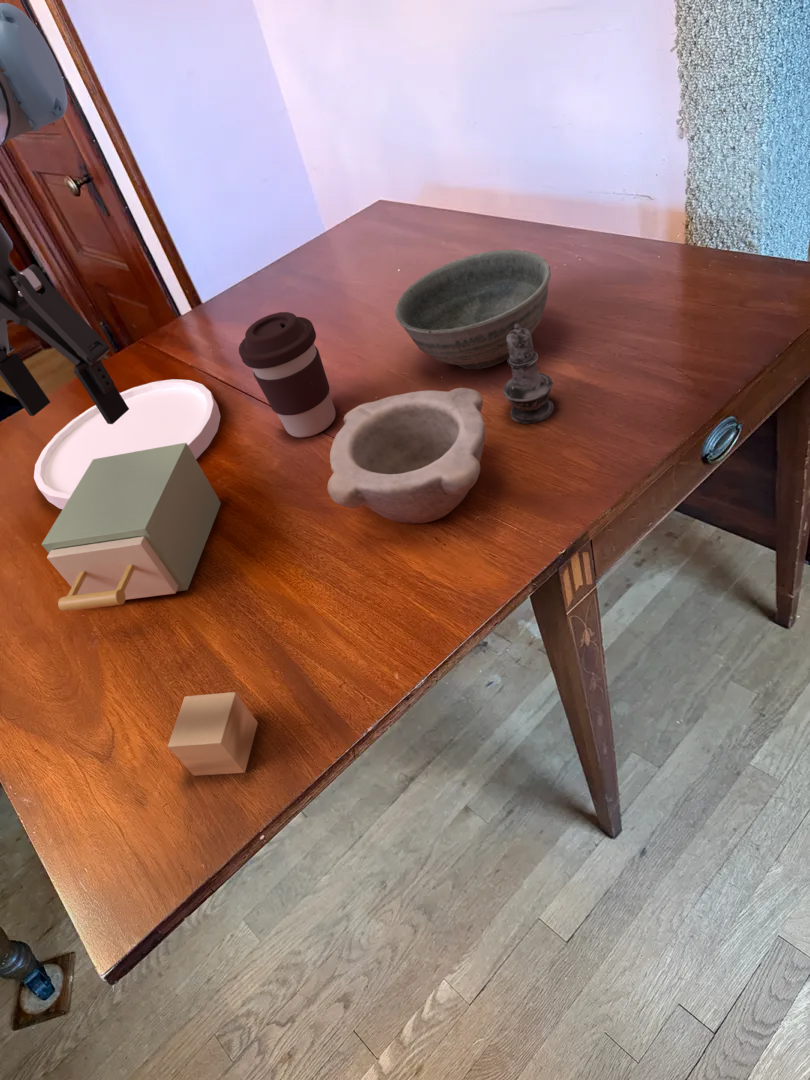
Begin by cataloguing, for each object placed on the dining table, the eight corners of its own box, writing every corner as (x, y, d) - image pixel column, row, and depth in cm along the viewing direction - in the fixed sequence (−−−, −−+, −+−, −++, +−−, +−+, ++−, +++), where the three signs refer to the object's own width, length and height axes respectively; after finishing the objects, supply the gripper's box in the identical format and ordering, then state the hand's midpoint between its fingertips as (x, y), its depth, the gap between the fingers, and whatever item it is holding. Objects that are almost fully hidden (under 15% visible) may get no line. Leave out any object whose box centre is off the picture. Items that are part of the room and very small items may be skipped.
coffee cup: (267, 447, 101) (220, 351, 91) (291, 404, 108) (249, 310, 98) (334, 442, 98) (292, 342, 88) (354, 398, 104) (318, 300, 94)
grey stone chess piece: (555, 393, 93) (542, 305, 85) (556, 421, 88) (543, 331, 80) (508, 400, 94) (491, 314, 86) (507, 428, 90) (489, 341, 82)
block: (245, 773, 65) (220, 742, 61) (193, 776, 66) (167, 746, 63) (258, 722, 68) (235, 691, 65) (209, 726, 69) (184, 696, 66)
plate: (241, 446, 103) (234, 432, 101) (50, 541, 99) (39, 528, 97) (197, 371, 124) (190, 358, 122) (37, 448, 119) (28, 435, 117)
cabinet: (187, 590, 84) (144, 528, 78) (89, 602, 87) (41, 544, 81) (221, 503, 95) (186, 442, 88) (133, 517, 98) (93, 459, 91)
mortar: (494, 543, 77) (477, 475, 71) (340, 556, 81) (312, 494, 75) (501, 443, 88) (487, 377, 82) (367, 459, 93) (344, 398, 87)
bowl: (553, 386, 94) (542, 315, 87) (397, 402, 101) (376, 337, 94) (565, 304, 107) (556, 236, 101) (427, 323, 114) (411, 261, 108)
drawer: (161, 630, 79) (123, 580, 74) (67, 640, 82) (24, 593, 77) (208, 511, 92) (179, 462, 87) (127, 523, 95) (93, 476, 90)
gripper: (65, 194, 65) (178, 398, 79) (-87, 215, 77) (34, 388, 91) (-1, 234, 60) (131, 442, 74) (-150, 249, 73) (-13, 425, 87)
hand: (78, 412), depth 83 cm, fingers open, 13 cm apart
